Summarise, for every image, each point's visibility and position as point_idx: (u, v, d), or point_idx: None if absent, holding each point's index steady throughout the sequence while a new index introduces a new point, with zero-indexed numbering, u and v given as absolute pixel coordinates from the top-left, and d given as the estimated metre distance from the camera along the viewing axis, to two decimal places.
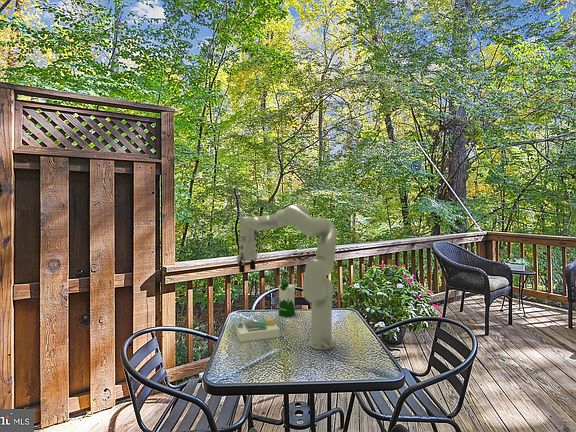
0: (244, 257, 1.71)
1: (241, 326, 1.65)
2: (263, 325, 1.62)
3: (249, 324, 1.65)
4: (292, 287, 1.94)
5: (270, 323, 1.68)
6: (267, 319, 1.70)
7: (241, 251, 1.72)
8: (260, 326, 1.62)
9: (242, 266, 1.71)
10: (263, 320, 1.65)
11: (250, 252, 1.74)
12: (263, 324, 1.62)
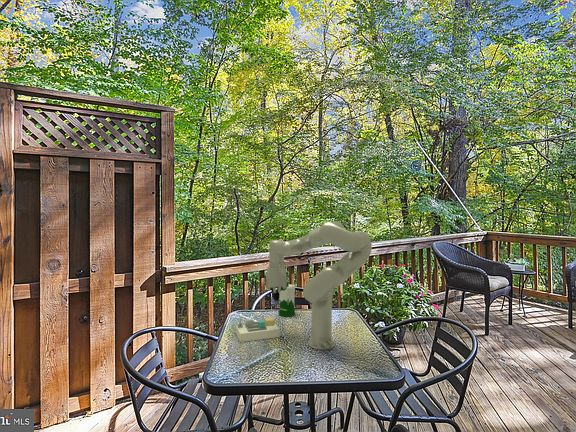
0: None
1: (241, 326, 1.65)
2: (263, 325, 1.62)
3: (249, 324, 1.65)
4: (292, 287, 1.94)
5: (270, 323, 1.68)
6: (267, 319, 1.70)
7: None
8: (260, 326, 1.62)
9: None
10: (263, 320, 1.65)
11: None
12: (263, 324, 1.62)
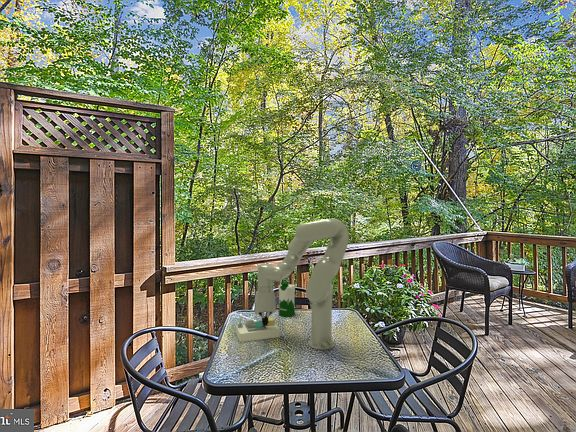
0: None
1: (241, 326, 1.65)
2: (260, 325, 1.62)
3: (249, 324, 1.65)
4: (292, 287, 1.94)
5: (270, 323, 1.68)
6: None
7: None
8: (257, 326, 1.61)
9: None
10: None
11: None
12: (260, 325, 1.62)
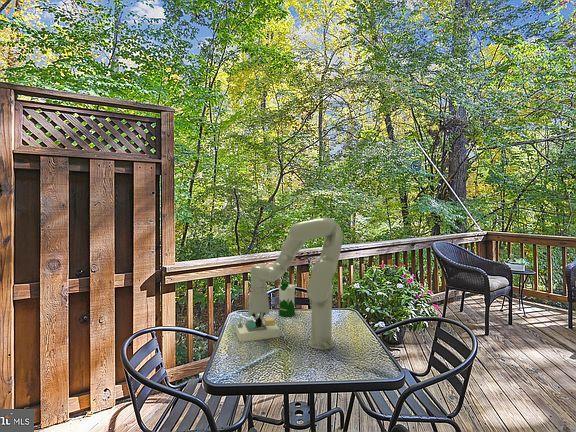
0: None
1: (241, 326, 1.65)
2: (253, 326, 1.61)
3: None
4: (292, 287, 1.94)
5: (270, 323, 1.68)
6: (267, 319, 1.70)
7: None
8: (250, 327, 1.60)
9: None
10: None
11: None
12: (253, 325, 1.61)
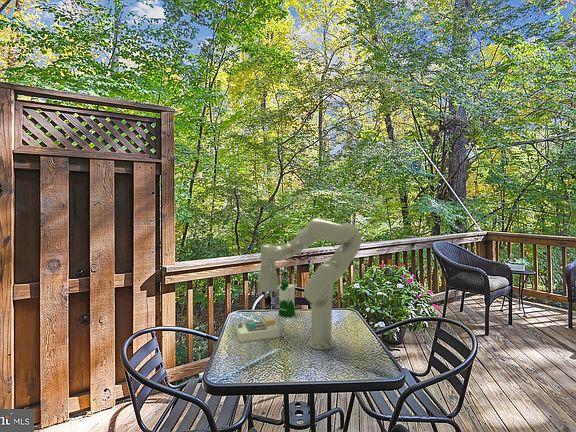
0: None
1: (241, 326, 1.65)
2: (253, 326, 1.61)
3: None
4: (292, 287, 1.94)
5: (270, 323, 1.68)
6: (267, 319, 1.70)
7: None
8: (250, 327, 1.60)
9: None
10: None
11: None
12: (253, 325, 1.61)
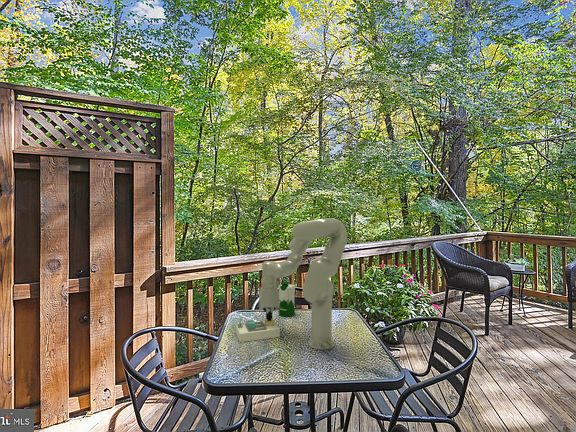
0: None
1: (241, 326, 1.65)
2: (253, 326, 1.61)
3: None
4: (292, 287, 1.94)
5: (270, 323, 1.68)
6: (267, 320, 1.70)
7: None
8: (250, 327, 1.60)
9: None
10: None
11: None
12: (253, 325, 1.61)
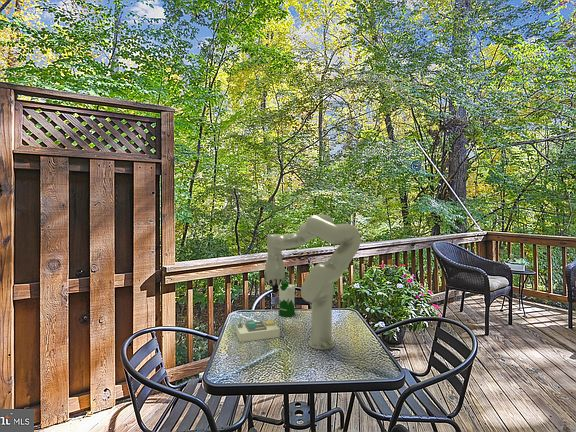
0: None
1: (241, 326, 1.65)
2: (253, 326, 1.61)
3: None
4: (292, 287, 1.94)
5: (270, 325, 1.68)
6: (267, 322, 1.70)
7: None
8: (250, 327, 1.60)
9: None
10: None
11: None
12: (253, 325, 1.61)
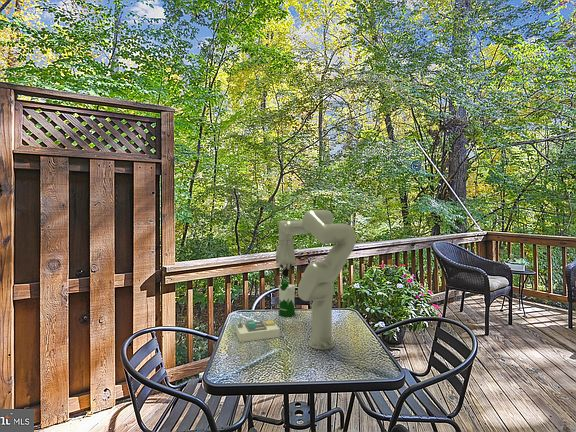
0: None
1: (241, 326, 1.65)
2: (253, 326, 1.61)
3: None
4: (292, 287, 1.94)
5: (270, 325, 1.68)
6: (267, 322, 1.70)
7: None
8: (250, 327, 1.60)
9: None
10: None
11: None
12: (253, 325, 1.61)
